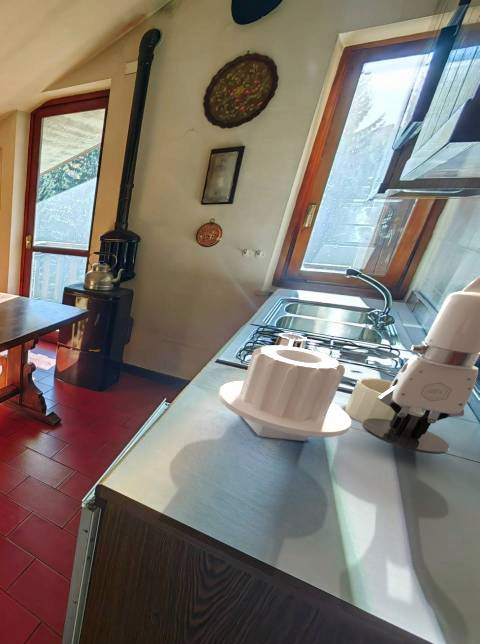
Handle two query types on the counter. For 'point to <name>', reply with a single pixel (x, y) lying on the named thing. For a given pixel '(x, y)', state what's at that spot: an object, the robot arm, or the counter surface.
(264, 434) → the ribbed cylinder on disc
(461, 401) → the robot arm
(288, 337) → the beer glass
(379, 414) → the faceted cream dish
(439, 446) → the lid
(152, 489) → the counter surface
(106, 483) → the counter surface
